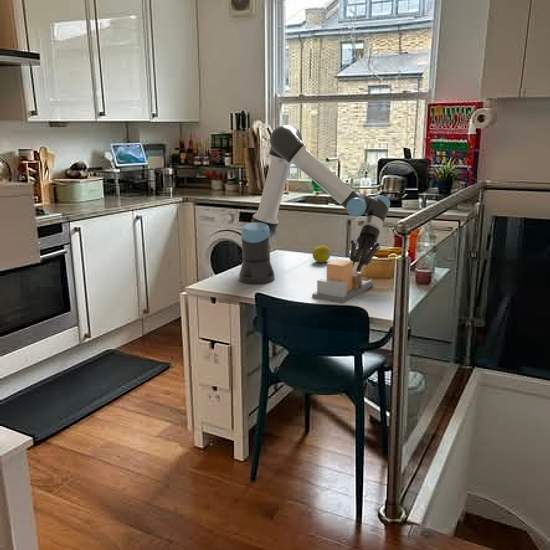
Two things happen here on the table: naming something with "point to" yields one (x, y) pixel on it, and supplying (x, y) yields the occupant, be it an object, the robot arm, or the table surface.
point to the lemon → (321, 254)
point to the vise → (338, 290)
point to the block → (341, 272)
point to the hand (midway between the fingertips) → (352, 277)
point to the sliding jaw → (357, 280)
